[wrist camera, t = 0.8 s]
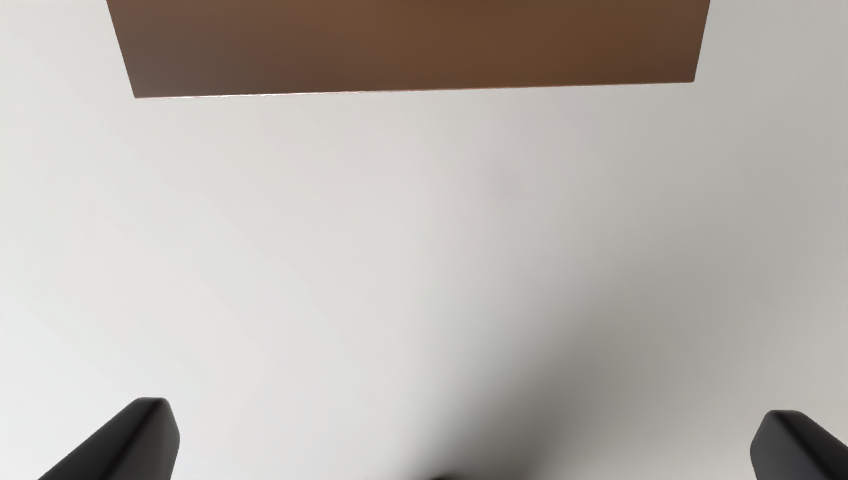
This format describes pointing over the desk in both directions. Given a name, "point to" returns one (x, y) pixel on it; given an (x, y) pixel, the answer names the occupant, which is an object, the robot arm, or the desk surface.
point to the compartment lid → (402, 44)
